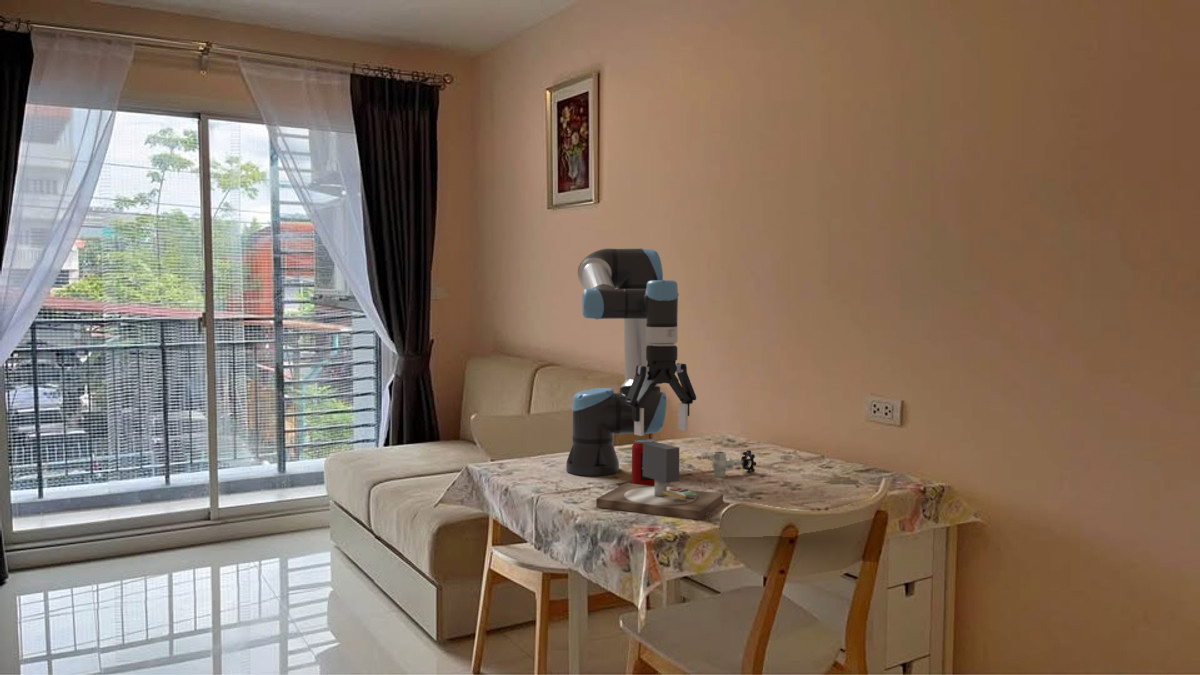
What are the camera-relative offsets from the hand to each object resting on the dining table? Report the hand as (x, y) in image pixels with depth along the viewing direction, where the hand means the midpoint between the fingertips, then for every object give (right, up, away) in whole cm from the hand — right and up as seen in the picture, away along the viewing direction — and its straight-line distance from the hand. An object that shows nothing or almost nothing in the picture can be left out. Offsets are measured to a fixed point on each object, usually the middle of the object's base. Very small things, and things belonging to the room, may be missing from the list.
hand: (661, 432), depth 206 cm
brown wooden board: (0, -18, +1) cm, 18 cm away
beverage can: (-3, -17, +21) cm, 27 cm away
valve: (+22, -16, +35) cm, 44 cm away
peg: (+1, -15, 0) cm, 15 cm away
